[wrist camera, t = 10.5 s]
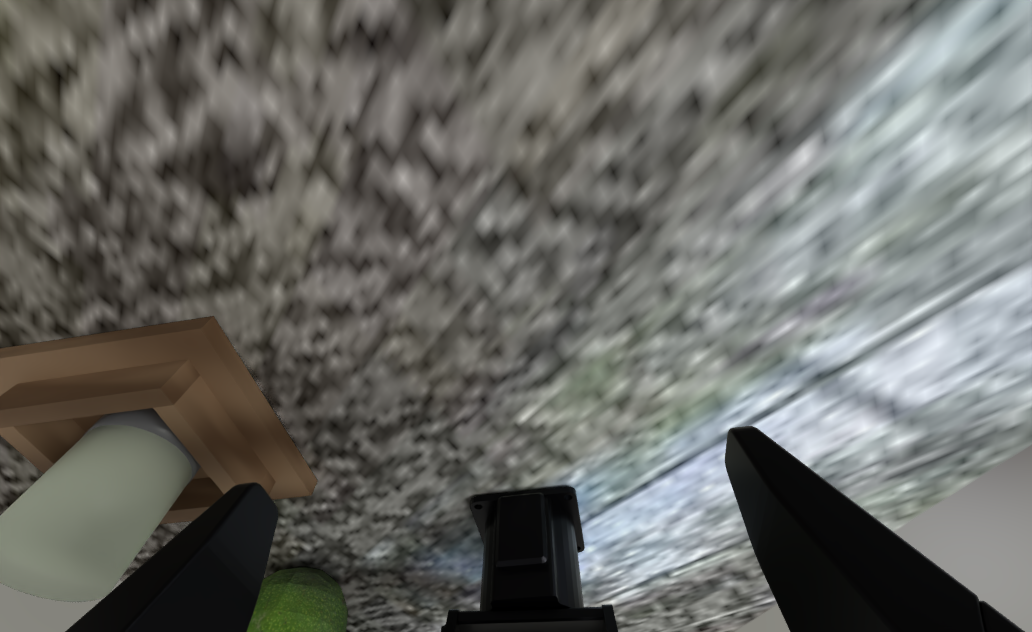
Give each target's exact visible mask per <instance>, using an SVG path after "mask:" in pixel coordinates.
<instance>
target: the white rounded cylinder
mask: <svg viewBox="0 0 1032 632" xmlns="http://www.w3.org/2000/svg"><path fill="white" fill-rule="evenodd" d="M200 467H201V466H200V464H199V463H198V462H197V461H196V460H195V458H194V457H193V456H192V455H191V454H190V452H189V451H188V450H187V449H186V447H185V446H184V445H183V444H182V443H181V441H180V440H179V439H178V438H177V437H176V435H175V434H174V433H173V432H172V430H171V429H170V428H169V427H168V426H167V424H166V423H165V422H164V421H163V420H162V418H161V417H160V416H159V415H158V413H157V412H156V411H155V410H154V409H153V408H148V409H141V410H133V411H126V412H118V413H111V414H104V415H103V416H102V417H101V418H100V419H99V420H98V421H97V422H96V423H95V424H94V425H93V426H92V427H91V428H90V429H89V430H88V431H87V432H86V433H85V434H84V435H83V437H82V438H81V439H80V440H79V441H78V442H77V443H76V444H75V445H74V446H73V447H72V448H70V449H69V450H68V451H67V452H66V453H65V454H64V455H63V456H62V457H61V458H60V459H59V460H58V461H57V462H56V463H55V464H54V465H53V466H52V467H51V468H50V469H49V470H48V471H46V472H45V473H44V474H43V475H42V476H41V477H40V478H39V479H38V480H37V481H36V482H35V483H34V484H33V485H32V486H31V487H30V488H29V489H28V490H27V491H26V492H25V493H23V494H22V495H21V496H20V497H19V498H18V499H17V500H16V501H15V502H14V503H13V504H12V505H11V506H10V507H9V508H8V509H7V510H6V511H5V512H4V513H3V514H2V515H0V583H2V584H4V585H6V586H8V587H10V588H13V589H15V590H18V591H21V592H24V593H26V594H30V595H33V596H37V597H41V598H46V599H51V600H57V601H67V602H86V601H93V600H97V599H100V598H103V597H105V596H107V595H108V594H109V593H110V592H111V591H112V589H113V588H114V586H115V585H116V584H117V582H118V581H119V579H120V578H121V577H122V575H123V574H124V572H125V571H126V570H127V568H128V567H129V565H130V564H131V563H132V561H133V560H134V558H135V557H136V556H137V554H138V553H139V551H140V550H141V549H142V547H143V546H144V544H145V543H146V542H147V540H148V539H149V537H150V536H151V535H152V533H153V532H154V530H155V529H156V527H157V526H158V525H159V523H160V522H161V520H162V519H163V518H164V516H165V515H166V513H167V512H168V511H169V509H170V508H171V506H172V505H173V504H174V502H175V501H176V499H177V498H178V497H179V495H180V494H181V492H182V491H183V490H184V488H185V487H186V486H187V485H188V484H189V483H190V482H191V480H192V479H193V477H194V476H195V474H196V473H197V472H198V470H199V469H200Z"/></svg>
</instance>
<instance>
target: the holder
mask: <svg viewBox="0 0 1032 632" xmlns="http://www.w3.org/2000/svg"><path fill="white" fill-rule="evenodd" d="M148 408H153V409H154V410H155V411H156V412H157V413H158V415H159V416H160V417H161V418H162V420H163V421H164V422H165V423H166V424H167V426H168V427H169V428H170V429H171V430H172V432H173V433H174V434H175V435H176V437H177V438H178V439H179V440H180V441H181V443H182V444H183V445H184V446H185V447H186V449H187V450H188V451H189V452H190V454H191V455H192V456H193V457H194V458H195V460H196V461H197V462H198V463H199V464H200V466H201V467H200V469H199V470H198V472H197V473H196V474H195V476H194V477H193V479H192V480H191V482H190V483H189V484H188V485H187V486H186V487H185V488H184V490H183V491H182V492H181V494H180V495H179V497H178V498H177V499H176V501H175V502H174V504H173V505H172V506H171V508H170V509H169V511H168V512H167V513H166V515H165V516H164V518H163V519H162V520H161V522H160V523H159V524H167V523H177V522H186V521H194V520H195V519H196V518H197V517H198V516H200V515H201V514H202V513H203V512H204V511H205V510H207V509H208V508H209V507H210V506H211V505H212V504H213V503H215V502H216V501H217V500H218V499H219V498H220V497H222V496H223V495H224V494H225V493H226V492H227V491H228V490H230V489H231V488H232V487H233V486H235V485H238V484H243V483H252V482H257V483H259V484H260V485H261V486H262V487H263V488H264V489H265V491H266V492H267V493H268V495H269V496H270V498H271V499H272V500H274V499H283V498H292V497H301V496H310V495H312V493H313V490H314V488H315V486H316V483H317V479H316V478H315V476H314V474H313V473H312V471H311V470H310V468H309V467H308V465H307V463H306V462H305V460H304V459H303V457H302V455H301V454H300V452H299V451H298V449H297V448H296V446H295V444H294V443H293V441H292V440H291V438H290V436H289V435H288V433H287V432H286V430H285V429H284V427H283V425H282V424H281V422H280V421H279V419H278V417H277V416H276V414H275V413H274V411H273V410H272V408H271V406H270V405H269V403H268V402H267V400H266V398H265V397H264V395H263V394H262V392H261V391H260V389H259V387H258V386H257V384H256V383H255V381H254V379H253V378H252V376H251V375H250V373H249V372H248V370H247V368H246V367H245V365H244V364H243V362H242V360H241V359H240V357H239V356H238V354H237V352H236V351H235V349H234V348H233V346H232V345H231V343H230V341H229V340H228V338H227V337H226V335H225V333H224V332H223V330H222V329H221V327H220V326H219V324H218V322H217V321H216V319H215V318H214V316H211V317H205V318H198V319H192V320H185V321H178V322H172V323H165V324H159V325H152V326H145V327H139V328H132V329H126V330H119V331H112V332H106V333H99V334H93V335H86V336H79V337H73V338H66V339H60V340H53V341H46V342H40V343H33V344H27V345H20V346H14V347H7V348H0V435H1V436H2V437H3V438H4V439H5V440H6V441H8V442H9V443H10V444H11V445H12V446H13V447H14V448H15V449H17V450H18V451H19V452H20V453H21V454H22V455H23V456H24V457H26V458H27V459H28V460H29V461H30V462H31V463H32V464H33V465H34V466H36V467H37V468H38V469H39V470H40V471H41V472H42V473H43V474H44V473H45V472H46V471H48V470H49V469H50V468H51V467H52V466H53V465H54V464H55V463H56V462H57V461H58V460H59V459H60V458H61V457H62V456H63V455H64V454H65V453H66V452H67V451H68V450H69V449H70V448H72V447H73V446H74V445H75V444H76V443H77V442H78V441H79V440H80V439H81V438H82V437H83V435H84V434H85V433H86V432H87V431H88V430H89V429H90V428H91V427H92V426H93V425H94V424H95V423H96V422H97V421H98V420H99V419H100V418H101V417H102V416H103V415H104V414H111V413H118V412H126V411H133V410H141V409H148Z"/></svg>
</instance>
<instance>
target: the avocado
mask: <svg viewBox="0 0 1032 632" xmlns="http://www.w3.org/2000/svg"><path fill="white" fill-rule="evenodd" d="M347 615H348V611H347V607H346V602H345V599H344V596H343V593H342V589H341V587H340V586H339V585H338V583H337V582H336V581H335V580H334V579H332V578H331V577H330V576H329V575H328V574H326V573H325V572H324V571H323V570H318V569H313V568H308V567H299V568H291V569H284V570H279V571H277V572H275V573H274V574H272V575H270V576H268V577H266V578H265V579H263V581H262V585H261V589H260V592H259V596H258V600H257V603H256V606H255V609H254V612H253V615H252V618H251V621H250V624H249V627H248V629H247V632H346V625H347Z"/></svg>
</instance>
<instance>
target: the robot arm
mask: <svg viewBox="0 0 1032 632" xmlns="http://www.w3.org/2000/svg"><path fill="white" fill-rule="evenodd" d="M725 465H726V470H727V473H728V476H729V479H730V482H731V485H732V488H733V491H734V494H735V497H736V500H737V503H738V506H739V509H740V511H741V514H742V517H743V520H744V523H745V526H746V529H747V532H748V535H749V538H750V541H751V544H752V547H753V549H754V552H755V555H756V557H757V560H758V562H759V564H760V567H761V569H762V571H763V573H764V575H765V578H766V580H767V582H768V584H769V586H770V589H771V591H772V593H773V595H774V597H775V599H776V602H777V604H778V606H779V608H780V610H781V612H782V615H783V617H784V619H785V621H786V623H787V625H788V628H789V630H790V632H1025V631H1023V630H1022V629H1020V628H1019V627H1018V626H1016V625H1015V624H1014V623H1013V622H1011V621H1010V620H1009V619H1007V618H1006V617H1005V616H1003V615H1002V614H1001V613H999V612H998V611H997V610H995V609H994V608H993V607H991V606H990V605H989V604H987V603H986V602H984V601H979V599H978V597H977V596H976V595H975V594H974V593H973V592H971V591H970V590H969V589H968V588H966V587H965V586H964V585H962V584H961V583H959V582H958V581H957V580H956V579H954V578H953V577H952V576H950V575H949V574H948V573H946V572H945V571H944V570H943V569H941V568H940V567H938V566H937V565H936V564H935V563H933V562H932V561H930V560H929V559H928V558H927V557H925V556H924V555H923V554H922V553H920V552H919V551H918V550H916V549H915V548H914V547H912V546H911V545H910V544H908V543H907V542H906V541H904V540H903V539H902V538H900V537H899V536H898V535H897V534H895V533H894V532H893V531H891V530H890V529H889V528H887V527H886V526H885V525H883V524H882V523H881V522H879V521H878V520H877V519H876V518H874V517H873V516H872V515H870V514H869V513H868V512H866V511H865V510H864V509H862V508H861V507H860V506H858V505H857V504H856V503H855V502H853V501H852V500H851V499H849V498H848V497H847V496H845V495H844V494H843V493H841V492H840V491H839V490H837V489H836V488H835V487H833V486H832V485H831V484H830V483H828V482H827V481H826V480H824V479H823V478H822V477H820V476H819V475H818V474H816V473H815V472H814V471H812V470H811V469H810V468H809V467H807V466H806V465H805V464H803V463H802V462H801V461H799V460H798V459H797V458H795V457H794V456H793V455H791V454H790V453H789V452H787V451H786V450H785V449H784V448H782V447H781V446H780V445H778V444H777V443H776V442H774V441H773V440H772V439H770V438H769V437H768V436H766V435H765V434H764V433H763V432H761V431H760V430H759V429H757V428H755V427H753V426H745V427H736V428H731V429H730V430H729V431H728V435H727V444H726V453H725ZM470 508H471V511H472V513H473V516H474V519H475V522H476V524H477V527H478V530H479V532H480V535H481V538H482V541H483V543H484V553H483V568H482V584H481V600H480V611H459V610H449V612H448V617H447V622H446V625H444V626H443V627H442V628H441V632H618V630H617V625H616V620H615V616H614V611H613V606H612V605H602V607H584V605H583V596H582V587H581V579H580V570H579V561H578V553H579V552H582V551H583V550H584V540H583V534H582V528H581V521H580V515H579V509H578V502H577V496H576V491H575V489H574V488H572V487H559V488H549V489H540V490H530V491H521V492H511V493H502V494H492V495H483V496H476V497H473V498H472V499H471V504H470ZM277 520H278V509H277V506H276V504H275V503H274V502H273V500H272V499H271V498H270V496H269V495H268V493H267V492H266V491H265V489H264V488H263V487H262V486H261V485H260V484H259V483H257V482H252V483H243V484H238V485H235V486H233V487H232V488H231V489H230V490H228V491H227V492H226V493H225V494H224V495H223V496H222V497H220V498H219V499H218V500H217V501H216V502H215V503H213V504H212V505H211V506H210V507H209V508H208V509H207V510H205V511H204V512H203V513H202V514H201V515H200V516H198V517H197V518H196V519H195V520H194V521H193V522H192V523H190V524H189V525H188V526H187V527H186V528H185V529H183V530H182V531H181V532H180V533H179V534H178V535H176V536H175V537H174V538H173V539H172V540H171V541H170V542H168V543H167V544H166V545H165V546H164V547H163V548H161V549H160V550H159V551H158V552H157V553H156V554H155V555H153V556H152V557H151V558H150V559H149V560H148V561H146V562H145V563H144V564H143V565H142V566H141V567H139V568H138V569H137V570H136V571H135V572H134V573H133V574H131V575H130V576H129V577H128V578H127V579H126V580H124V581H123V582H122V583H121V584H120V585H119V586H118V587H116V588H115V589H114V590H113V591H112V592H111V593H109V594H108V595H107V596H106V597H105V598H104V599H102V600H101V601H100V602H99V603H98V604H97V605H96V606H95V607H93V608H92V609H91V610H90V611H89V612H87V613H86V614H85V615H84V616H83V617H82V618H81V619H79V620H78V621H77V622H76V623H75V624H74V625H73V626H71V627H70V628H69V629H68V630H67V631H65V632H247V629H248V627H249V624H250V621H251V618H252V615H253V612H254V609H255V606H256V603H257V600H258V596H259V592H260V589H261V585H262V581H263V577H264V573H265V569H266V565H267V561H268V557H269V553H270V549H271V545H272V540H273V536H274V532H275V528H276V524H277Z"/></svg>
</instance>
